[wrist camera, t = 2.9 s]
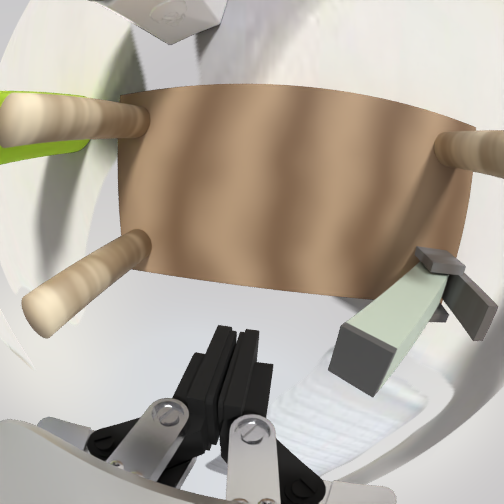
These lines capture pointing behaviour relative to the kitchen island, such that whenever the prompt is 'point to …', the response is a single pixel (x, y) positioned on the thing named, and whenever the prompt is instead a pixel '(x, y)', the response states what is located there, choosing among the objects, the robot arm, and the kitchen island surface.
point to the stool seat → (270, 192)
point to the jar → (169, 16)
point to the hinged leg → (386, 330)
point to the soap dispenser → (41, 149)
